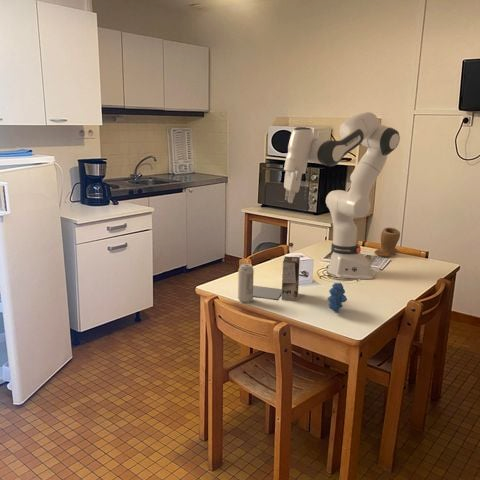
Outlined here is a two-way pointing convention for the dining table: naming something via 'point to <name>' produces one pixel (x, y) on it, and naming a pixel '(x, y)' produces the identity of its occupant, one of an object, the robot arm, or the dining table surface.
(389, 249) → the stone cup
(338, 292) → the grapes
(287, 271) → the coffee box
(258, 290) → the mat
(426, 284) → the dining table surface
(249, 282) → the energy drink can
